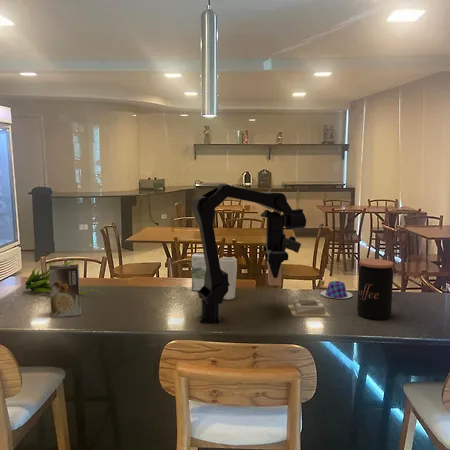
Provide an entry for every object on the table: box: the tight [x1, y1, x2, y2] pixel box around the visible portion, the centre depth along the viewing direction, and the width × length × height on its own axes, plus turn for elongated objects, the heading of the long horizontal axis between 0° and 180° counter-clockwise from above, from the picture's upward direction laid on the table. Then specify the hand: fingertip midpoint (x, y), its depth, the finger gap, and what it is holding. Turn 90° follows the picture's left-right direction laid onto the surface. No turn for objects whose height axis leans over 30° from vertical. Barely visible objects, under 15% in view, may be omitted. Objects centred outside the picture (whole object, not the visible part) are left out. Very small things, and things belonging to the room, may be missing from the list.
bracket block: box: [267, 262, 283, 286], centre depth 146 cm, size 4×4×8 cm
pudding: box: [320, 280, 354, 299], centre depth 168 cm, size 12×12×5 cm
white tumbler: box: [219, 256, 238, 301], centre depth 162 cm, size 7×7×15 cm
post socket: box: [287, 298, 331, 318], centre depth 148 cm, size 12×12×3 cm
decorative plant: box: [24, 257, 104, 296], centre depth 166 cm, size 18×30×15 cm, turn 45°
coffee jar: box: [356, 258, 394, 321], centre depth 143 cm, size 11×11×18 cm
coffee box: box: [48, 264, 82, 319], centre depth 144 cm, size 9×6×16 cm
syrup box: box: [191, 252, 206, 292], centre depth 174 cm, size 6×6×14 cm
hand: (274, 276), depth 146 cm, fingers closed on bracket block, 4 cm apart
